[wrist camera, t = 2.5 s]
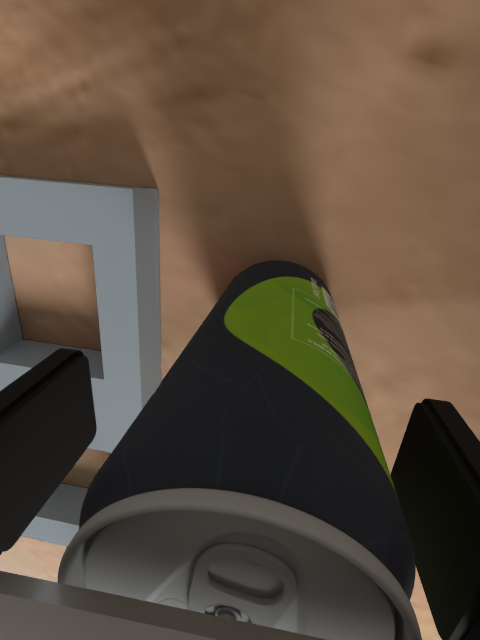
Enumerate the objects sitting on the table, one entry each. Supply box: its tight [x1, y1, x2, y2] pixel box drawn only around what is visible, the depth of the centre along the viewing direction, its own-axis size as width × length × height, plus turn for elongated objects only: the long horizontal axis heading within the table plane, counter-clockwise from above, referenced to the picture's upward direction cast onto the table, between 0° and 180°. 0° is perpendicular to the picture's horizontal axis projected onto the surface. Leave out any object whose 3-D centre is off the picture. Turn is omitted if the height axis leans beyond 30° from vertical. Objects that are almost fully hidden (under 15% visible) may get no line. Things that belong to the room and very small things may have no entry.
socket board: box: [0, 175, 161, 547], centre depth 22 cm, size 12×26×3 cm, turn 176°
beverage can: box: [58, 261, 422, 640], centre depth 12 cm, size 6×6×15 cm
